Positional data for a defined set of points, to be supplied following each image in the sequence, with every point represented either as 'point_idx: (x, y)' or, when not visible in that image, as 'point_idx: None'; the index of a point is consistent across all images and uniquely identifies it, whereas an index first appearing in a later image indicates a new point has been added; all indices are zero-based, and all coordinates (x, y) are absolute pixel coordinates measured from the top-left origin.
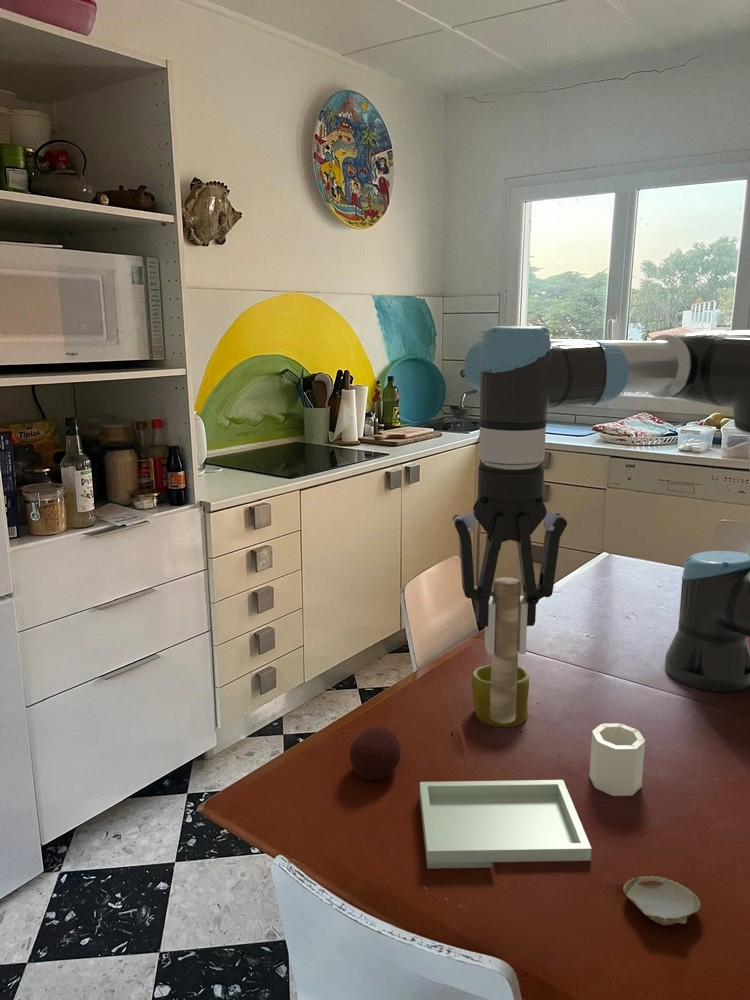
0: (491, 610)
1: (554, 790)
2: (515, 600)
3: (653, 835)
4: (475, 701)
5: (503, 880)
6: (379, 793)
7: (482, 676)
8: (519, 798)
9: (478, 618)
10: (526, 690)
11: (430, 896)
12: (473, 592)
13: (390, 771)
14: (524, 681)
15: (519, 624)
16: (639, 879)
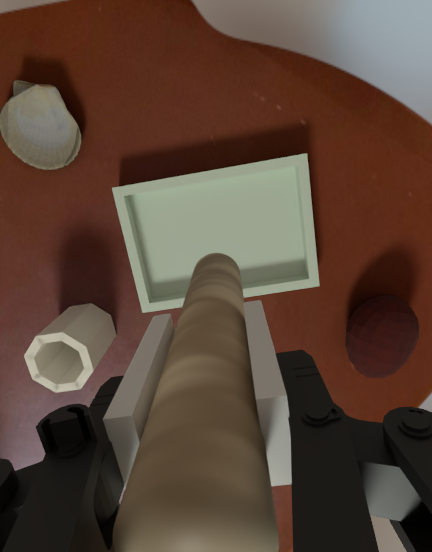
0: (271, 377)
1: (154, 299)
2: (156, 423)
3: (49, 249)
4: None
5: (214, 148)
6: (363, 281)
7: None
8: None
9: (316, 367)
10: None
11: (296, 108)
12: (397, 434)
13: (355, 310)
14: None
15: (158, 373)
16: (64, 162)
